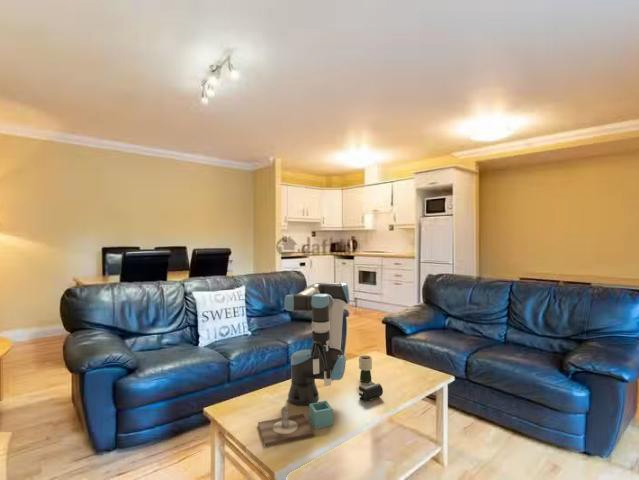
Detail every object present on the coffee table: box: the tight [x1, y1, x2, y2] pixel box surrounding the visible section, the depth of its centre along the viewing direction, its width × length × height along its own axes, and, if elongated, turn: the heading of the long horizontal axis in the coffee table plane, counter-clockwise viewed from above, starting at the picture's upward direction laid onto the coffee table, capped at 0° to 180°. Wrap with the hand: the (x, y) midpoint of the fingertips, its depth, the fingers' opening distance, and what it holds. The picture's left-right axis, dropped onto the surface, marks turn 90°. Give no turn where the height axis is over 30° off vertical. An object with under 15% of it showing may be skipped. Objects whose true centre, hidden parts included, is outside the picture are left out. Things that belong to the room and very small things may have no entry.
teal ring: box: [308, 400, 334, 430], centre depth 154 cm, size 8×8×7 cm
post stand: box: [257, 406, 315, 447], centre depth 148 cm, size 16×20×10 cm
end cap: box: [358, 381, 384, 403], centre depth 175 cm, size 10×7×7 cm
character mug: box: [358, 354, 373, 383], centre depth 196 cm, size 11×7×13 cm, turn 137°
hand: (321, 379), depth 154 cm, fingers open, 13 cm apart
